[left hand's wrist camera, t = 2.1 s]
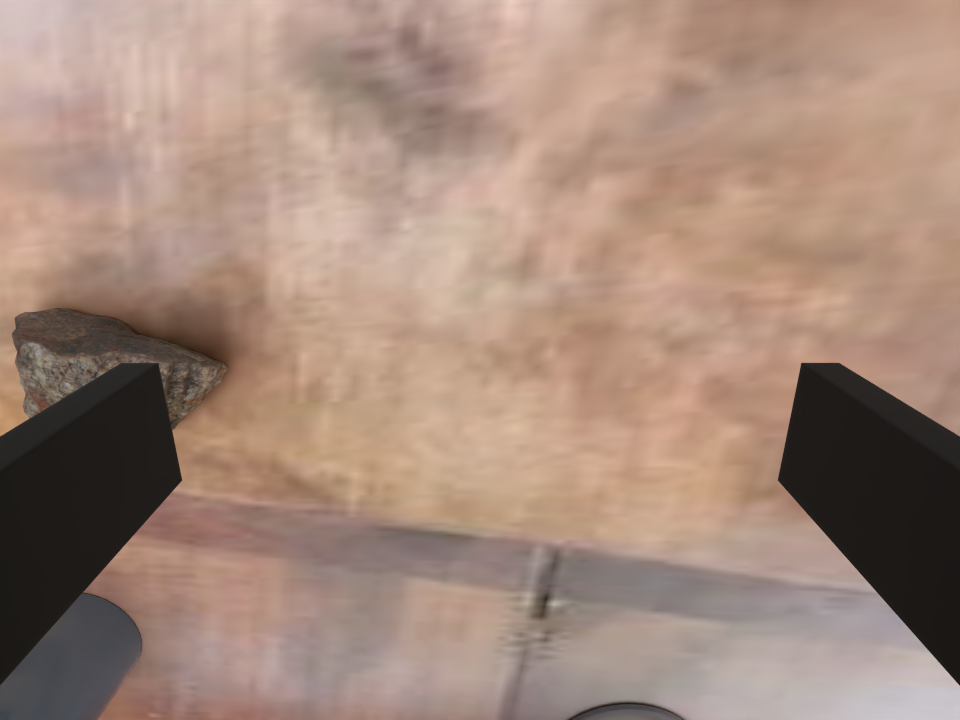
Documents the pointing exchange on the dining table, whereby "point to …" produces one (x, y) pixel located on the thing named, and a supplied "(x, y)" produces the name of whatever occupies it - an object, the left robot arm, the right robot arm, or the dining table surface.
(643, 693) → the dining table surface
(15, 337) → the rock
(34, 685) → the jar
